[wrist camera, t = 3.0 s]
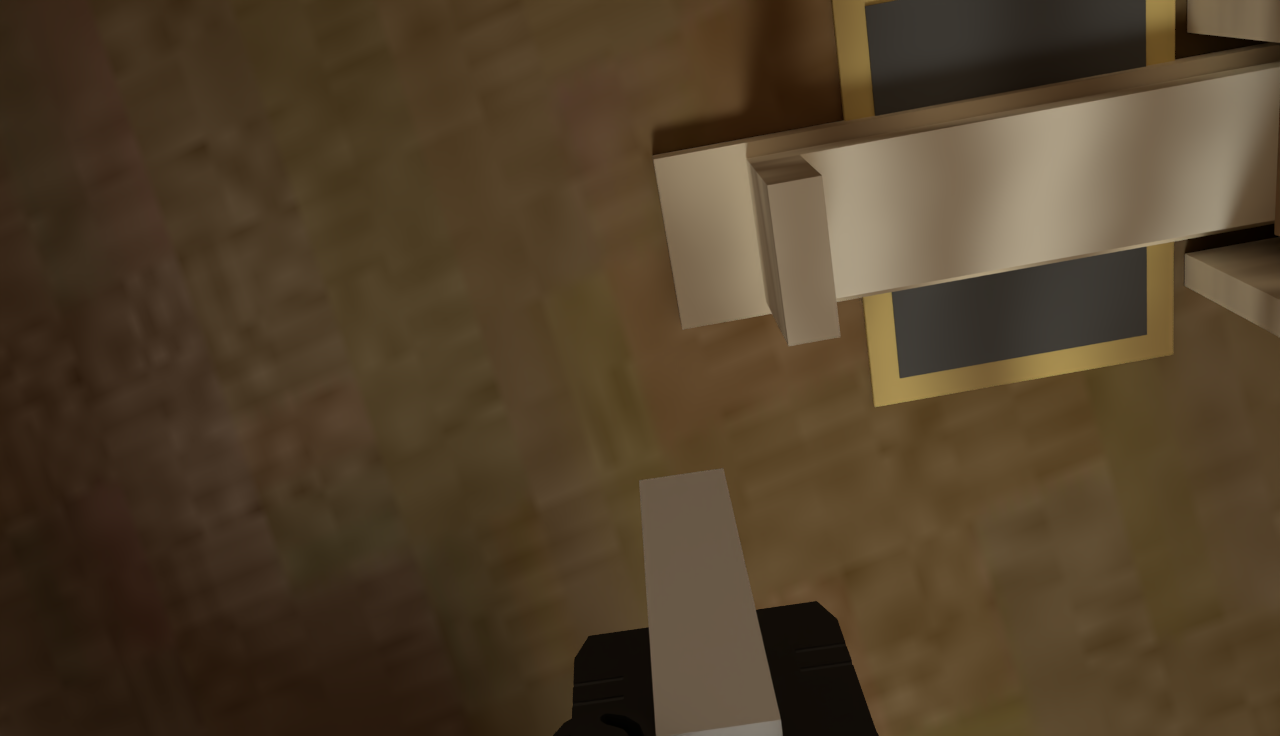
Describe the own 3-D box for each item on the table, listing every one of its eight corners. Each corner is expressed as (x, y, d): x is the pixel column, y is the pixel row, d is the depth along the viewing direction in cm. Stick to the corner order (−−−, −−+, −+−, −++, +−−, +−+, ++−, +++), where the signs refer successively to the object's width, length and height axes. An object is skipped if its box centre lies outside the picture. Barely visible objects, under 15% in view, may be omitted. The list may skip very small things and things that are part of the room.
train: (767, 315, 37) (804, 390, 30) (743, 143, 35) (778, 184, 28) (1461, 190, 36) (1652, 240, 30) (1480, 8, 34) (1691, 18, 28)
